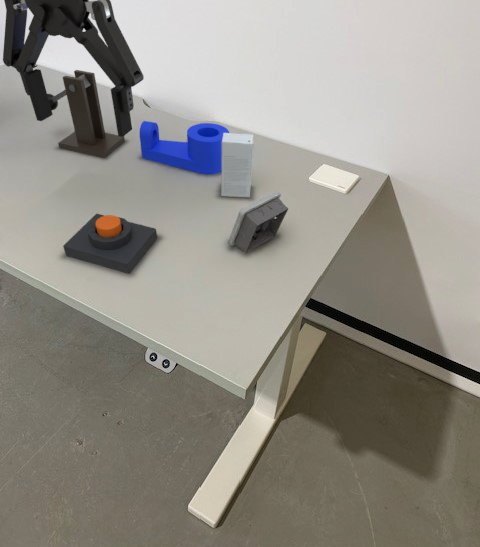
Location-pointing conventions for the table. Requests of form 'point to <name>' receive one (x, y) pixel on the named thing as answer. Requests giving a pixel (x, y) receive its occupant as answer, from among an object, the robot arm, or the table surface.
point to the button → (108, 226)
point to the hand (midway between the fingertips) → (84, 125)
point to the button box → (111, 245)
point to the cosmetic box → (236, 164)
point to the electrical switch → (258, 222)
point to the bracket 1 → (87, 119)
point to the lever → (63, 94)
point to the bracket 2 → (185, 147)
